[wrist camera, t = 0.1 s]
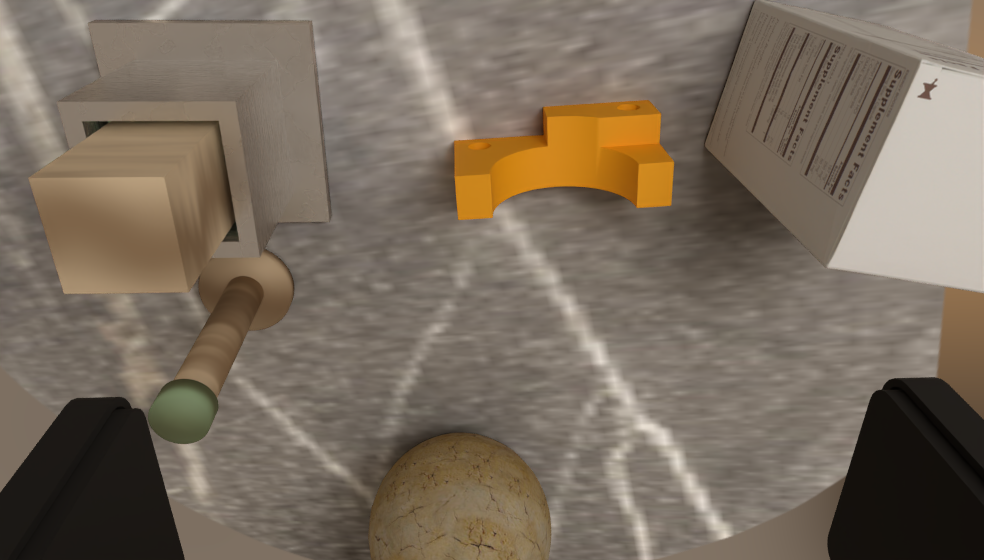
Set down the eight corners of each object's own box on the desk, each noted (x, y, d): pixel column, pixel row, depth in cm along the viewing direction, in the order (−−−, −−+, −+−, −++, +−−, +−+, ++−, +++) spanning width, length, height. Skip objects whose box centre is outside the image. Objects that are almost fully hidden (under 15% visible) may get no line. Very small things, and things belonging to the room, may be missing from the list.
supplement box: (699, 148, 46) (815, 271, 31) (751, -5, 42) (914, 55, 27) (838, 174, 47) (1013, 304, 33) (902, 28, 43) (1136, 102, 28)
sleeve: (95, 20, 41) (-3, 56, 32) (311, 20, 41) (273, 56, 33) (142, 217, 47) (69, 294, 38) (331, 215, 47) (303, 291, 38)
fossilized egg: (569, 428, 56) (604, 593, 43) (496, 536, 62) (507, 713, 48) (417, 372, 53) (405, 532, 40) (354, 491, 59) (324, 667, 45)
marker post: (195, 245, 48) (103, 372, 35) (288, 244, 48) (230, 370, 35) (211, 323, 51) (131, 467, 38) (299, 321, 51) (248, 464, 38)
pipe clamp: (647, 99, 45) (676, 130, 39) (644, 166, 47) (671, 205, 41) (452, 112, 45) (451, 145, 39) (457, 179, 47) (458, 219, 41)
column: (159, 83, 42) (23, 174, 28) (257, 82, 42) (167, 173, 29) (178, 174, 44) (61, 297, 31) (270, 173, 44) (193, 295, 31)
